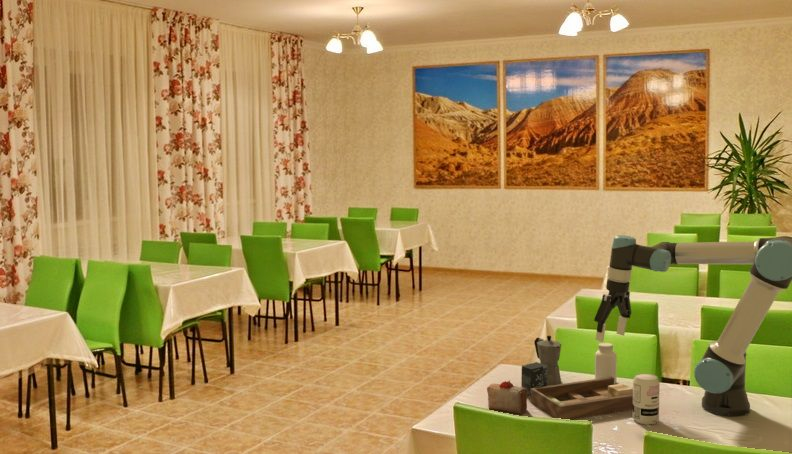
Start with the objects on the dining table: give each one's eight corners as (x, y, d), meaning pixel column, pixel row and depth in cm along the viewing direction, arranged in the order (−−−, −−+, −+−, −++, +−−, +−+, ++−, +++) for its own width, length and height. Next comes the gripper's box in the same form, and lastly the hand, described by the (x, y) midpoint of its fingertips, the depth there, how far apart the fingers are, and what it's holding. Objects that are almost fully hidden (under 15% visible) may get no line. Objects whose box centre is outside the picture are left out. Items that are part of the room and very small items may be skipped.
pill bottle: (590, 380, 285) (591, 342, 283) (608, 378, 287) (609, 340, 286) (602, 386, 277) (602, 348, 276) (620, 384, 280) (621, 345, 278)
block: (632, 399, 257) (632, 388, 257) (618, 402, 255) (618, 390, 255) (622, 394, 263) (622, 383, 262) (607, 396, 261) (607, 385, 260)
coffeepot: (569, 383, 282) (569, 337, 280) (549, 387, 278) (549, 341, 276) (544, 373, 295) (544, 329, 293) (525, 376, 291) (525, 332, 289)
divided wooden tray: (646, 407, 255) (646, 393, 254) (560, 421, 244) (560, 406, 243) (611, 389, 274) (611, 376, 273) (530, 402, 263) (530, 388, 262)
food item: (484, 409, 256) (483, 382, 255) (493, 402, 263) (493, 375, 262) (521, 416, 250) (521, 388, 248) (529, 408, 256) (529, 381, 255)
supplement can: (638, 414, 249) (638, 371, 247) (662, 419, 243) (663, 375, 242) (628, 421, 242) (629, 377, 241) (653, 427, 237) (654, 382, 236)
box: (531, 397, 268) (531, 369, 267) (521, 393, 272) (520, 365, 271) (547, 392, 272) (547, 365, 271) (536, 388, 277) (536, 361, 276)
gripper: (628, 273, 268) (619, 328, 272) (589, 281, 251) (580, 340, 255) (646, 278, 262) (638, 335, 266) (608, 286, 245) (599, 346, 249)
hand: (610, 337), depth 260 cm, fingers open, 13 cm apart
